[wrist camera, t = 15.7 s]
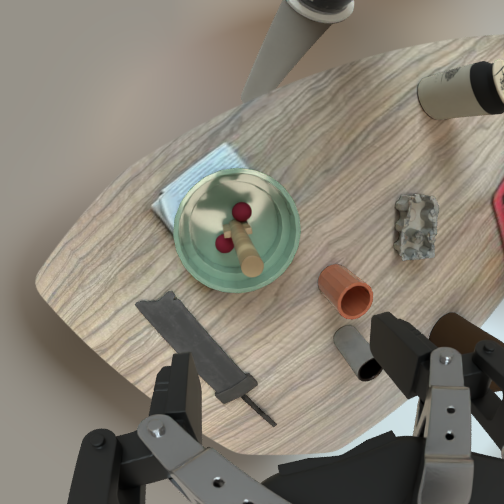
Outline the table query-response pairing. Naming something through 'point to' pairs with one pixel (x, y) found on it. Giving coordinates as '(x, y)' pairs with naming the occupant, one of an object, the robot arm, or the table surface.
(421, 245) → the egg carton
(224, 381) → the toy broadsword
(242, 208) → the bead
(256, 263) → the wooden stick
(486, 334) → the olive oil
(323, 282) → the utensil pot
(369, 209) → the table surface
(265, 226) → the bowl
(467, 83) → the travel mug
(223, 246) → the bead
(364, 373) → the grey tube
